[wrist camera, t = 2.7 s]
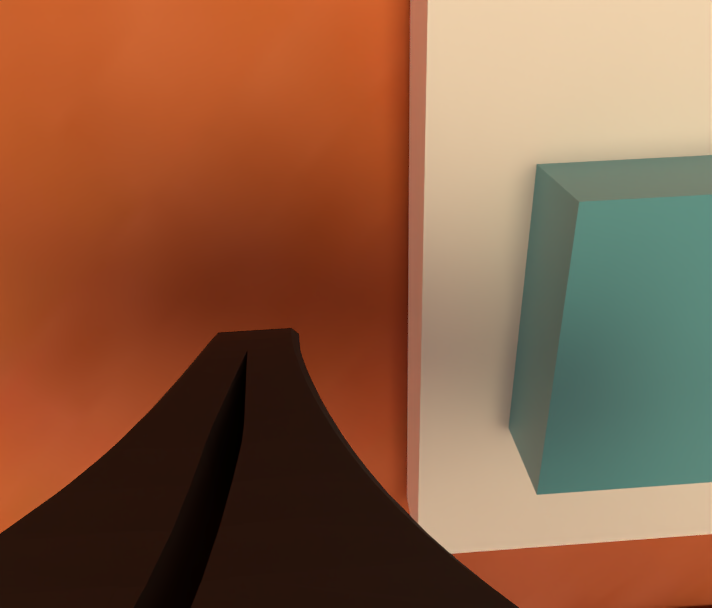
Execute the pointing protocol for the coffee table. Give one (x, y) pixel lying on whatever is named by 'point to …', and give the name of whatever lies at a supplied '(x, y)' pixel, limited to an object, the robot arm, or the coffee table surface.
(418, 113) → the cream flat square slab
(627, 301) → the teal rectangular block
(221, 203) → the coffee table surface
